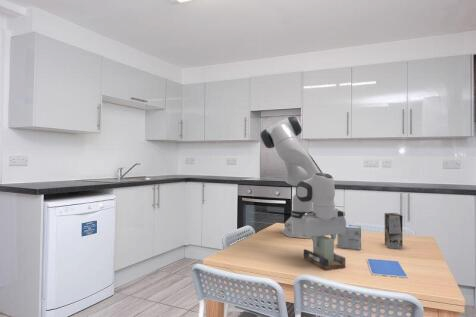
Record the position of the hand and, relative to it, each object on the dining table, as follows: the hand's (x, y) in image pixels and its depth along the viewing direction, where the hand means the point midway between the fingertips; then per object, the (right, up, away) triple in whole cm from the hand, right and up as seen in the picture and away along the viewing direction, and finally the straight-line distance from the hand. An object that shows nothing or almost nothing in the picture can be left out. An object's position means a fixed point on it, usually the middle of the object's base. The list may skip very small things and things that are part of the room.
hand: (323, 245), depth 134 cm
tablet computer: (+23, -8, -7) cm, 25 cm away
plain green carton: (0, -6, 0) cm, 6 cm away
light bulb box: (+19, -8, +25) cm, 33 cm away
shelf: (0, -7, 0) cm, 7 cm away
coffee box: (+42, -8, +27) cm, 51 cm away
